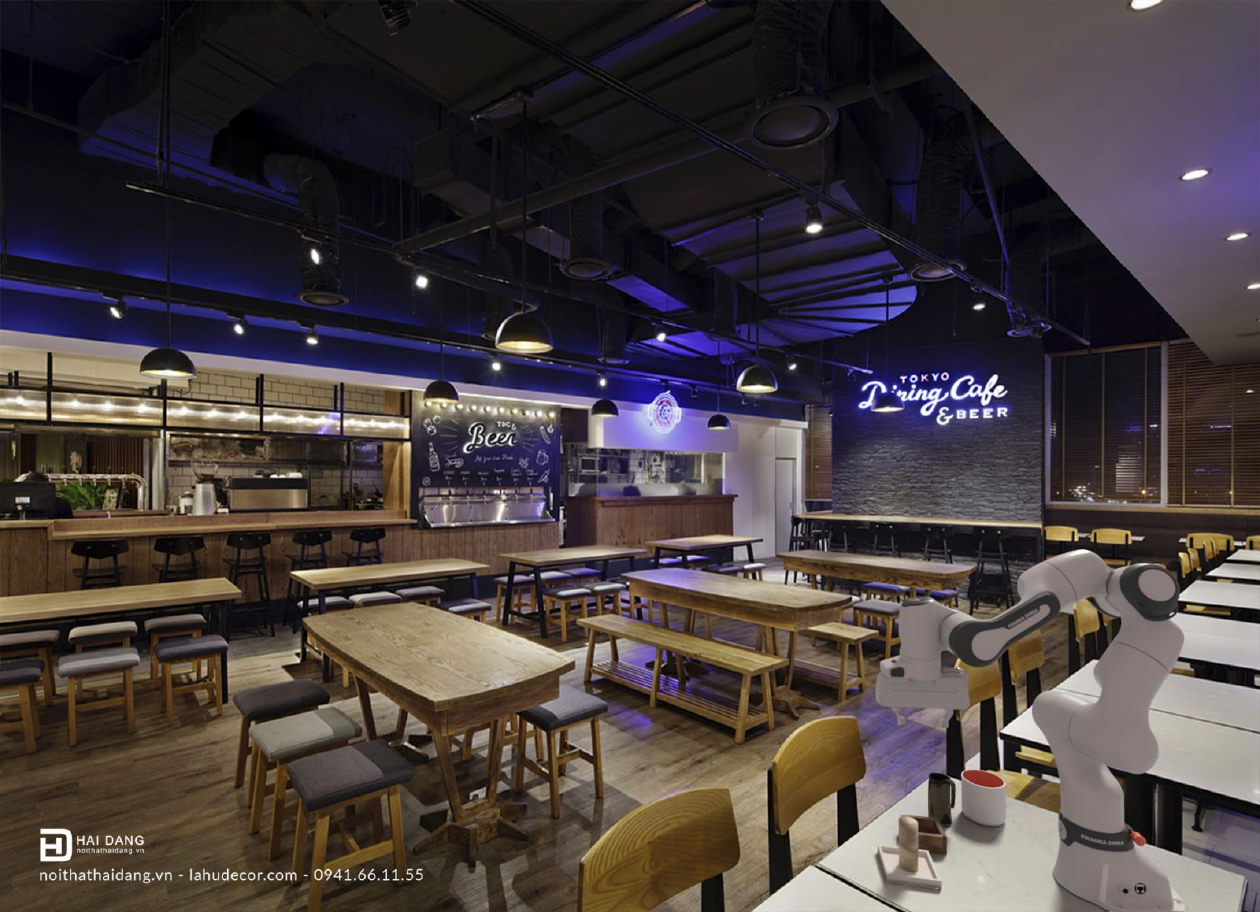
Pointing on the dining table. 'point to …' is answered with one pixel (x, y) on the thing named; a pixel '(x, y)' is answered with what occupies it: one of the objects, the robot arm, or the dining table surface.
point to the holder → (930, 834)
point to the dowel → (908, 844)
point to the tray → (897, 875)
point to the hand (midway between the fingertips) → (922, 725)
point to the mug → (941, 798)
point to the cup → (983, 797)
